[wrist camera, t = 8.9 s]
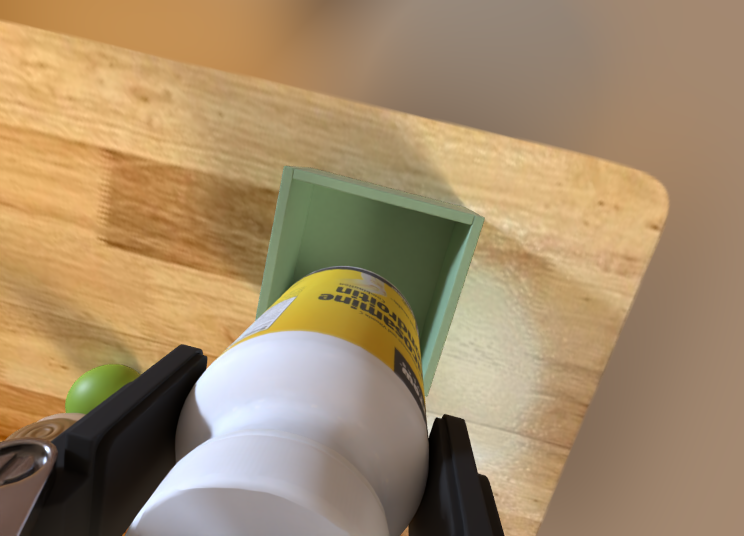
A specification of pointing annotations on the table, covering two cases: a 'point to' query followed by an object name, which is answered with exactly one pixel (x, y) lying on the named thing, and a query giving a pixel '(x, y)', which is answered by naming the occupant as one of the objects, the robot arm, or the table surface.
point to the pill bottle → (304, 421)
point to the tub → (373, 246)
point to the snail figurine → (81, 400)
